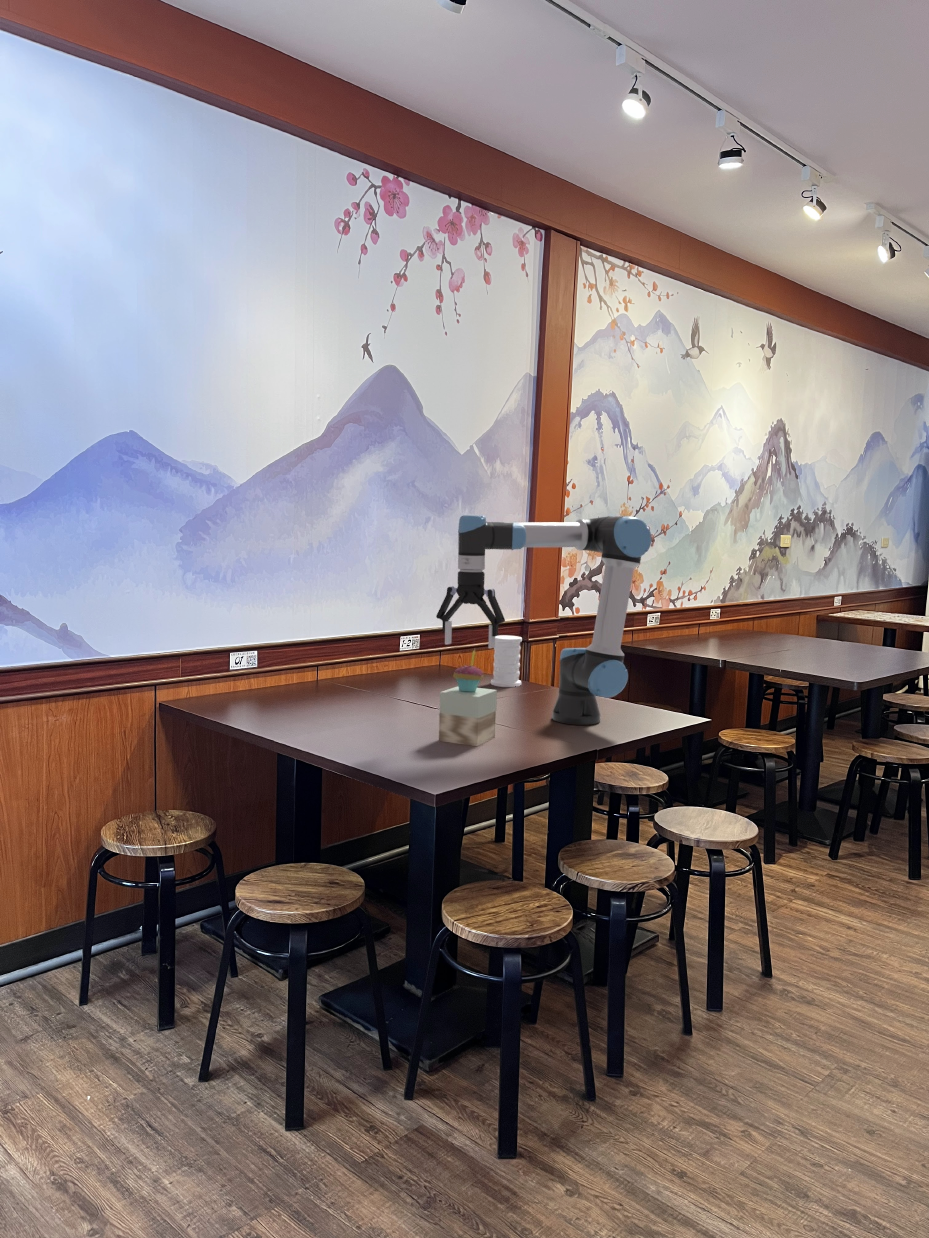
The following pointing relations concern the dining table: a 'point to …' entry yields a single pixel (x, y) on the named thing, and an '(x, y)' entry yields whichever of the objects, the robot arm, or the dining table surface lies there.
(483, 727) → the tower base
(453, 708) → the tower top
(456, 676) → the cupcake
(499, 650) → the decorative container
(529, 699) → the dining table surface
